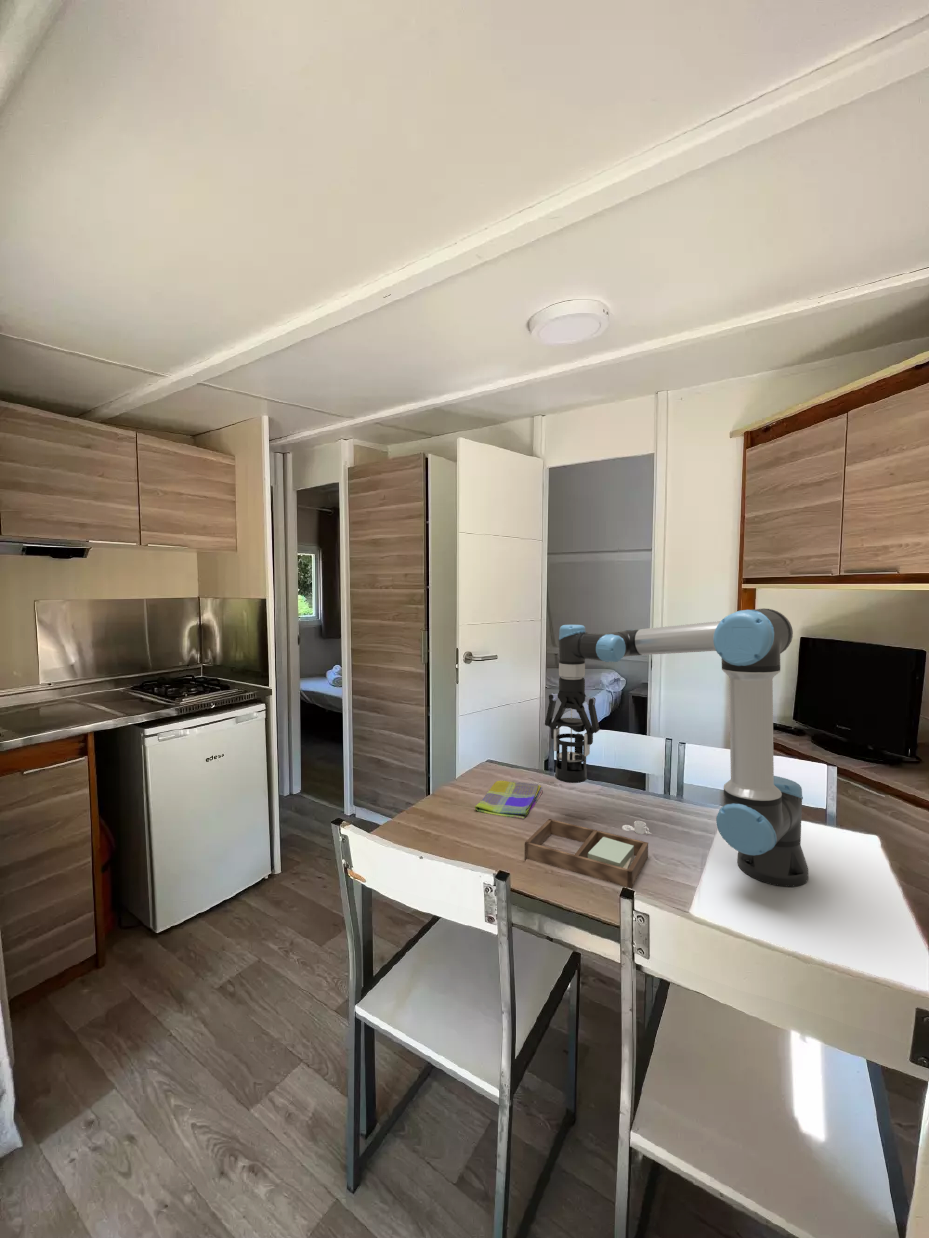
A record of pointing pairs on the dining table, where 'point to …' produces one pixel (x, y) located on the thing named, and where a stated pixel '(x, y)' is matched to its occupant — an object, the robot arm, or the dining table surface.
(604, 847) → the sage offcut top
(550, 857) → the walnut tray
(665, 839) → the dining table surface
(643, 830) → the teacup and saucer
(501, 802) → the dish towel
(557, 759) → the french press
